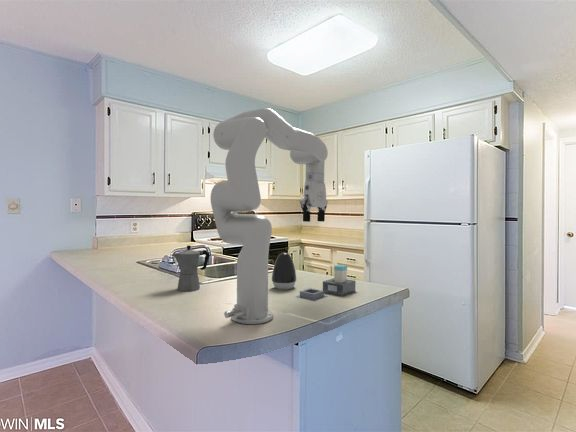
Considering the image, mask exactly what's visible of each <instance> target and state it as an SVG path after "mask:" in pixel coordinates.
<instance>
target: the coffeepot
mask: <svg viewBox="0 0 576 432" xmlns="http://www.w3.org/2000/svg"><path fill="white" fill-rule="evenodd" d="M191 247H192V245H189V244H188V245H186V249H185V250H181V251H178V252H176V253H173V254H172V257H174V259H175V260H176V262H177V264H178V268H179V270H180V271H179V275H178V282H177V288H176V289H177V291H179V292H184V293H185V292H189V293H190V292H195V291H199V290H200V288H201V284H200V279H199V273H198V268H199V262H200V256H205V257H204V261H203V265H202V267H200V269H199V270H201V271H203V270H206V268H207V266H208V262H209V259H210V257H211V254H210V253H209V252H208V250H206V249H203V250H193V249H191Z"/></svg>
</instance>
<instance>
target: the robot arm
mask: <svg viewBox="0 0 576 432" xmlns="http://www.w3.org/2000/svg"><path fill="white" fill-rule="evenodd" d="M212 134H213V141H214V143H215V144H216V146H217V147H219V148H220V149H221V150H224V151H228V152H227V154H226V158H225V162H224V163H225V166H224V167H225V171H226V179H227V180H221V181H218V182H217V183H216V184H214V185H213V187H212V189H211V192H210V205H211V210H212V214H213V217H214V223H215V227H216V230H217V234H218V236H219V238H220V240H222V241H223V242H224V243H226V244H230V245H241V246H242V247H241V250H240V251H239V254H238V255H237V260H236V303H235V304H233V305H234V306H233V308H232V309H231V310H230V309H229V310H226V311H224V313H223V315H224V317H225V318H226V319H229V318H231V320H232V321H234V322H235V323H239V324H242V325H243V324H244V325H257V324H264V323H267V322H269V321H271V320H272V319H273V318H274V313H273V311H272V310H270V309H269V254H270V253H269V250H270V245H271V238H272V233H273V227H272V223H271V221H270V220H269V219H268V217H266V216H264V215H260V214H253V213H252V214H250V213H249V214H247V213H243V214H242V213H241V214H240V212H253V211H255V210H258V208H259V207H260V205H261V202H262V201H261V199H262V198H261V192H260V186H259V180H258V175H257V171H256V170H257V169H256V155H257V153H258V151H259V148H260V147H261V145H262V144H263V141H264V140H265V139H266V140H267V141H268V142H270V143H272V144H273V145H274V146H276V147H277V148H278V149H281V150H283V151H290V152H289V156H290V159H291V160H292V162H293V163H294V164H298V165H305V176H304V177H305V181H304V186H303V197H302V198H300V199H299V203H300V207H301V211H302V221H303V222H307V223H308V222H311V211H310V210H311V209H312V208H317V210H318V211H317V217H316V218H317V220H316V221H317V222H323V223H324V222H325V221H326V220H325V217H326V216H325V215H326V209H327V207H328V206H327V205H328V204H329V202H328V200H327V188H326V184H325V183H326V182H325V164H326V163H325V162H326V160H327V158H328V154H329V151H328V147H327V145H326V144H325V142H324V141H323V140H322V139H321V138H320V137H319V136H317V135H316V134H314V133H312V132H308V131H306V130H302V129H300V128H296V127H293V126H292V125H291V124H290V123H289V122H287V121H286V120H285V119H284V118H283V117H282V116H281V115H279V113H277V112H276V111H275V110H273V109H271V108H268V107H264V108H258V109H254V110H253V109H251V110H248V111H244V112H241V113H239V114H236V115H235V116H233V117H230V118H228V119H225V120H222V121H220V122H219V123H218V124H217V125H216V126H214V129H213V133H212Z"/></svg>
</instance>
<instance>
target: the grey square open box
mask: <svg viewBox="0 0 576 432" xmlns="http://www.w3.org/2000/svg"><path fill="white" fill-rule="evenodd" d="M295 298H298V299H303V300H306V301H311V302H317V301H319V300H322V299H326V298H329V296H328V295H325V293H324V291H323V289H322V290H321V289H316V288H311V287H309V288H306V289H302V290H300V291H299V295H296V296H295Z"/></svg>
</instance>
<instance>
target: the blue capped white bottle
mask: <svg viewBox="0 0 576 432" xmlns="http://www.w3.org/2000/svg"><path fill="white" fill-rule="evenodd" d="M333 266H334V267H333V270H334V273H333V274H334V276H333V278H334V282H338V283H343V282H346V281H347V276H348V274H347V273H348V272H347V271H348V265H344V264H336V265H333Z"/></svg>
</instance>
